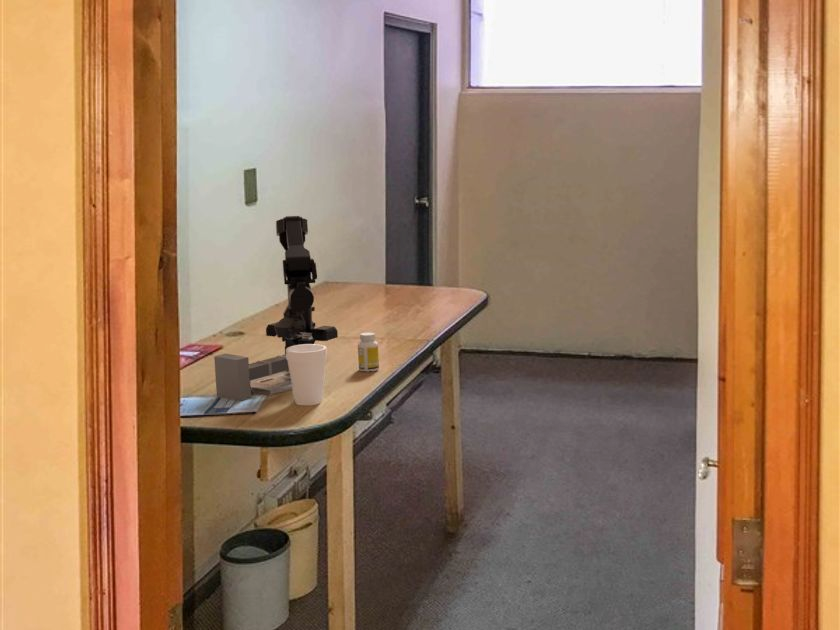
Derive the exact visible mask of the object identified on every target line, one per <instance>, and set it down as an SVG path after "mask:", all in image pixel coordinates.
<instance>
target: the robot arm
mask: <svg viewBox="0 0 840 630" xmlns="http://www.w3.org/2000/svg"><path fill="white" fill-rule="evenodd" d="M275 229H276V231H275V233H276V237H278V241H279V244H280V245H281V247H282V248H283V249H284V251H285V252H284V259H283V260H282V273H283V283H284V285H286V287H287V306H286V307H285V309H284V311H283V313H282V316H283V317H282V318H281V319H280V320H279V321H276V322H273V323H270V324H267V325H266V328H265V335H266V336H267V337H277V338H279V339H281V340H282V342H284V344H285V345H284V355H285V354H286V349H287V348H288V347H291V346H295V345H302V344H315V343H316V342H317V341H318V342H328V341H331V340H333V339H337V338H339V337H338V333H339V332H338V329H337V328H336V327H335V326H330V325H322V326H319V327H318V326H317V327H316V322H314V321H313V312H315V309H316V308H315V306H313V305H314V302H315V301H314V300H315V297H314V294H313V292H312V288H311V285H310V284H316V280H317V279H318V272H317V263H316V262H315V259H313V258H311V257H312V256H311V254H310V250H308V249H307V248H306V247H305V242H306V235H308V233H309V227H308V218H307V219H306V218H303V216H300V215H288V216H284V217H283V218H280V219H278V220H276V221H275Z"/></svg>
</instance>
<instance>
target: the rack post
mask: <svg viewBox="0 0 840 630" xmlns="http://www.w3.org/2000/svg"><path fill="white" fill-rule="evenodd" d="M213 357H214V360H213V361H214V372H215V392H216V397H219V398H222V397H223V399H227V400H228V399H229V400H232V399H234V401H238V400H239V401H238V402H240V400H241V401H243V400H244V401H245V400H247V399H250V398H252V397H251V393H250V378H249V364H250V363H249V356H243V355H237V354H231V353H230V354H229V353H222V354H218V355H215V356H213Z"/></svg>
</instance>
